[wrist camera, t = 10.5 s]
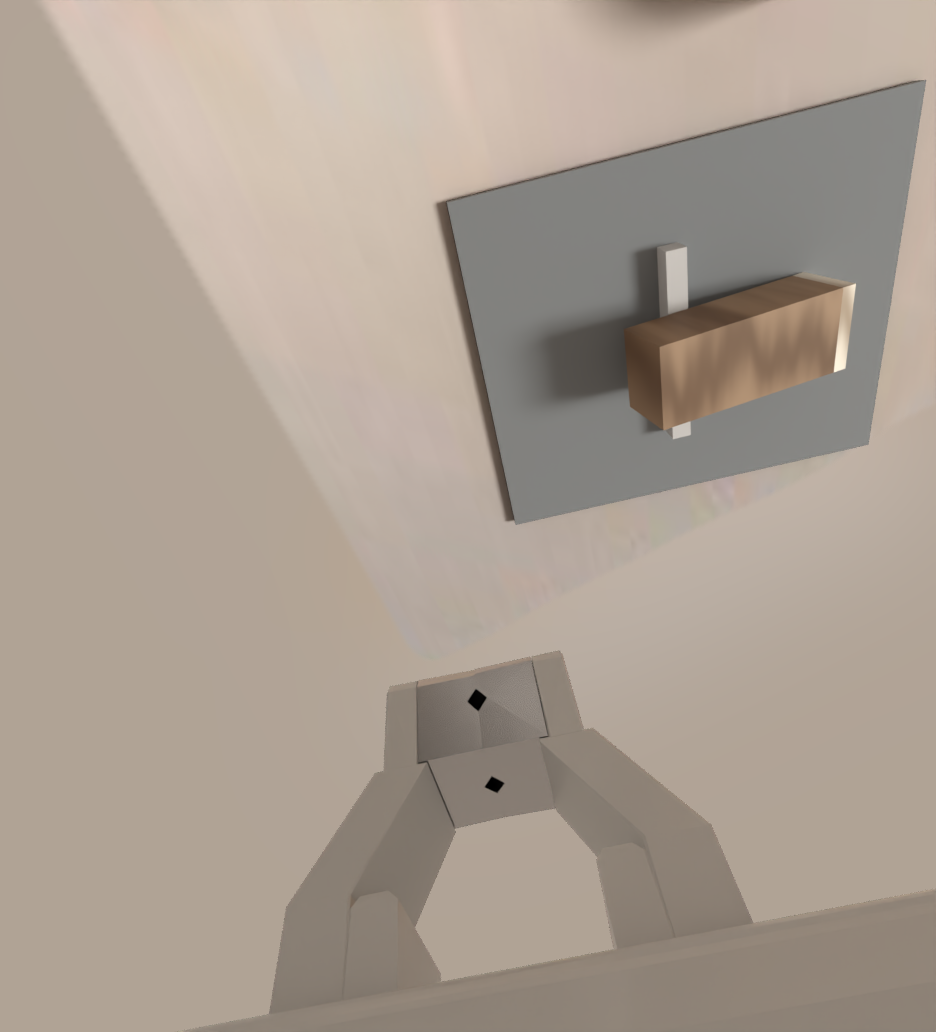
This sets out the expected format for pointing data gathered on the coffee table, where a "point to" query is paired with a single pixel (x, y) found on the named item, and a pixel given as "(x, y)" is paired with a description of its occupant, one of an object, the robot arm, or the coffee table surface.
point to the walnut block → (738, 348)
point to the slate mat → (680, 294)
